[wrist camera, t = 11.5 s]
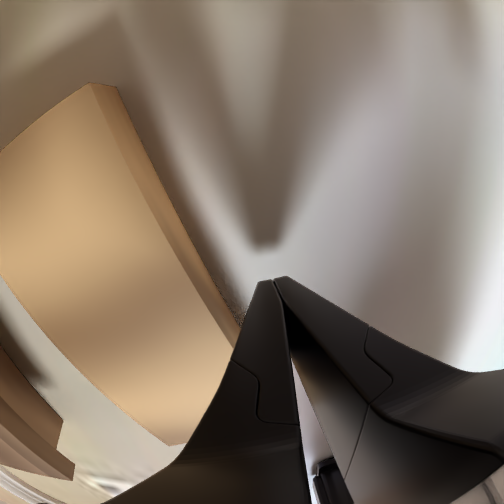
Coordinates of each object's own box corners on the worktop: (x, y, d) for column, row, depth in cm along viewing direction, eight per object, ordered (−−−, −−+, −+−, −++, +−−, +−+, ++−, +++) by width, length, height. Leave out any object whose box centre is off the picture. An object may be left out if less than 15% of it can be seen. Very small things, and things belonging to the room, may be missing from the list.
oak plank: (269, 372, 12) (280, 417, 10) (169, 403, 13) (168, 446, 11) (120, 87, 7) (89, 82, 5) (1, 174, 7) (-43, 197, 5)
